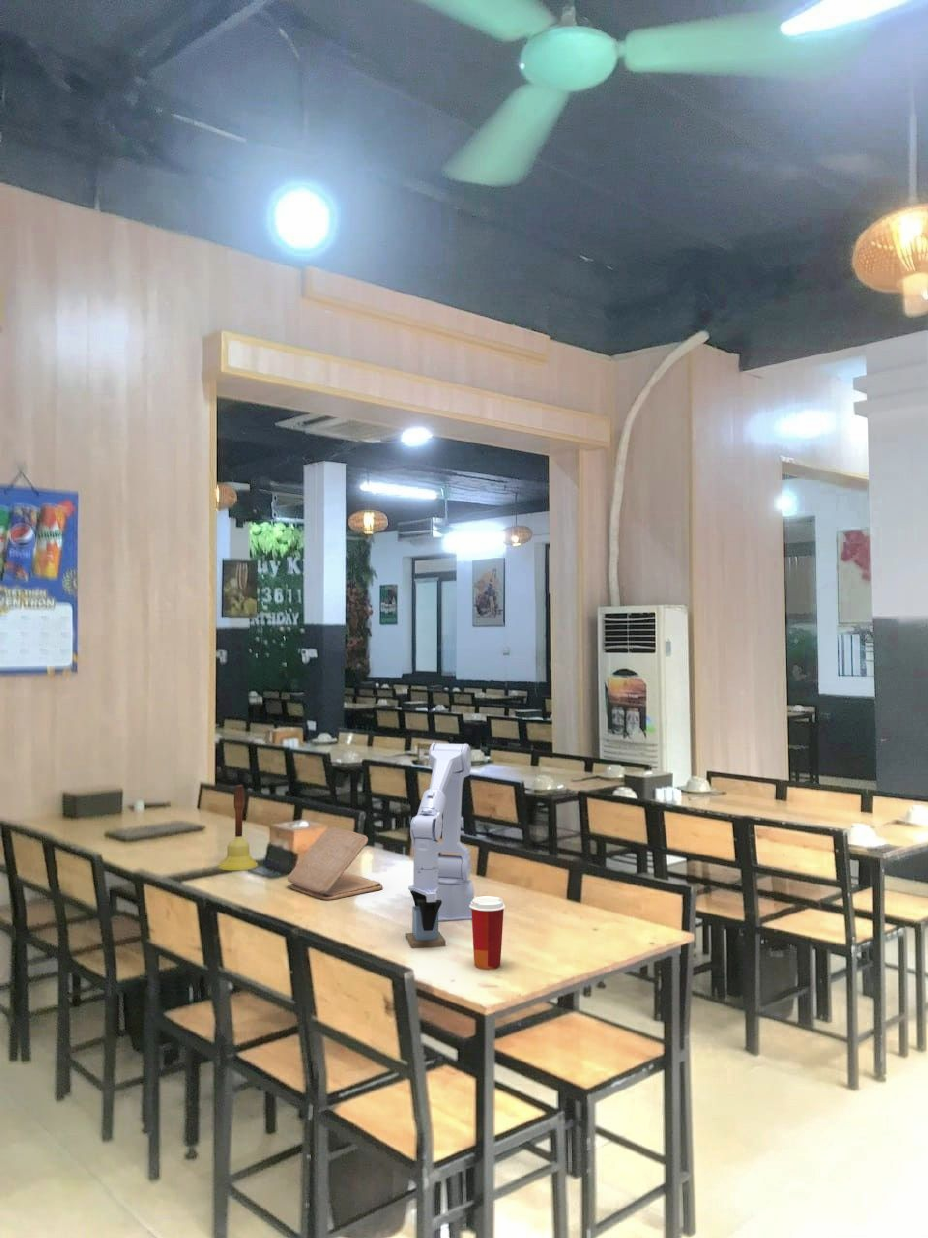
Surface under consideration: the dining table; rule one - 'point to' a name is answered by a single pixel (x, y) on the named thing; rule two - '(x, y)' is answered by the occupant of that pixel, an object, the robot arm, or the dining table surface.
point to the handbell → (238, 839)
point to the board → (430, 943)
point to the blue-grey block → (418, 927)
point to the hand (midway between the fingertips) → (425, 925)
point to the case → (332, 867)
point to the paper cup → (487, 931)
